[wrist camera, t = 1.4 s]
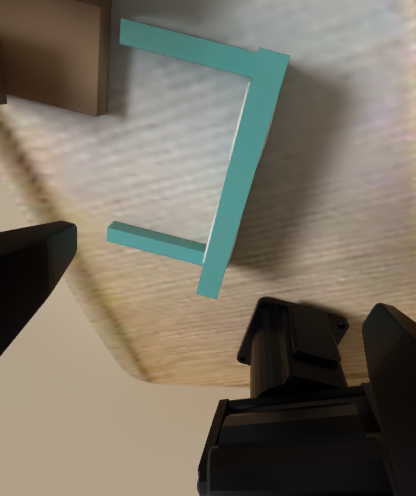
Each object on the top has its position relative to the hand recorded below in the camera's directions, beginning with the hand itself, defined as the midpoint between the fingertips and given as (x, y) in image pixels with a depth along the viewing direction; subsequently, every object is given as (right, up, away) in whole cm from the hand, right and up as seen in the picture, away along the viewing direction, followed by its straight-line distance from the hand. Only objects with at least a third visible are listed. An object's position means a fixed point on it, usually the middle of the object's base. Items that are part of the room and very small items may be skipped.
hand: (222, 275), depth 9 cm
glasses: (-2, +6, +9) cm, 11 cm away
